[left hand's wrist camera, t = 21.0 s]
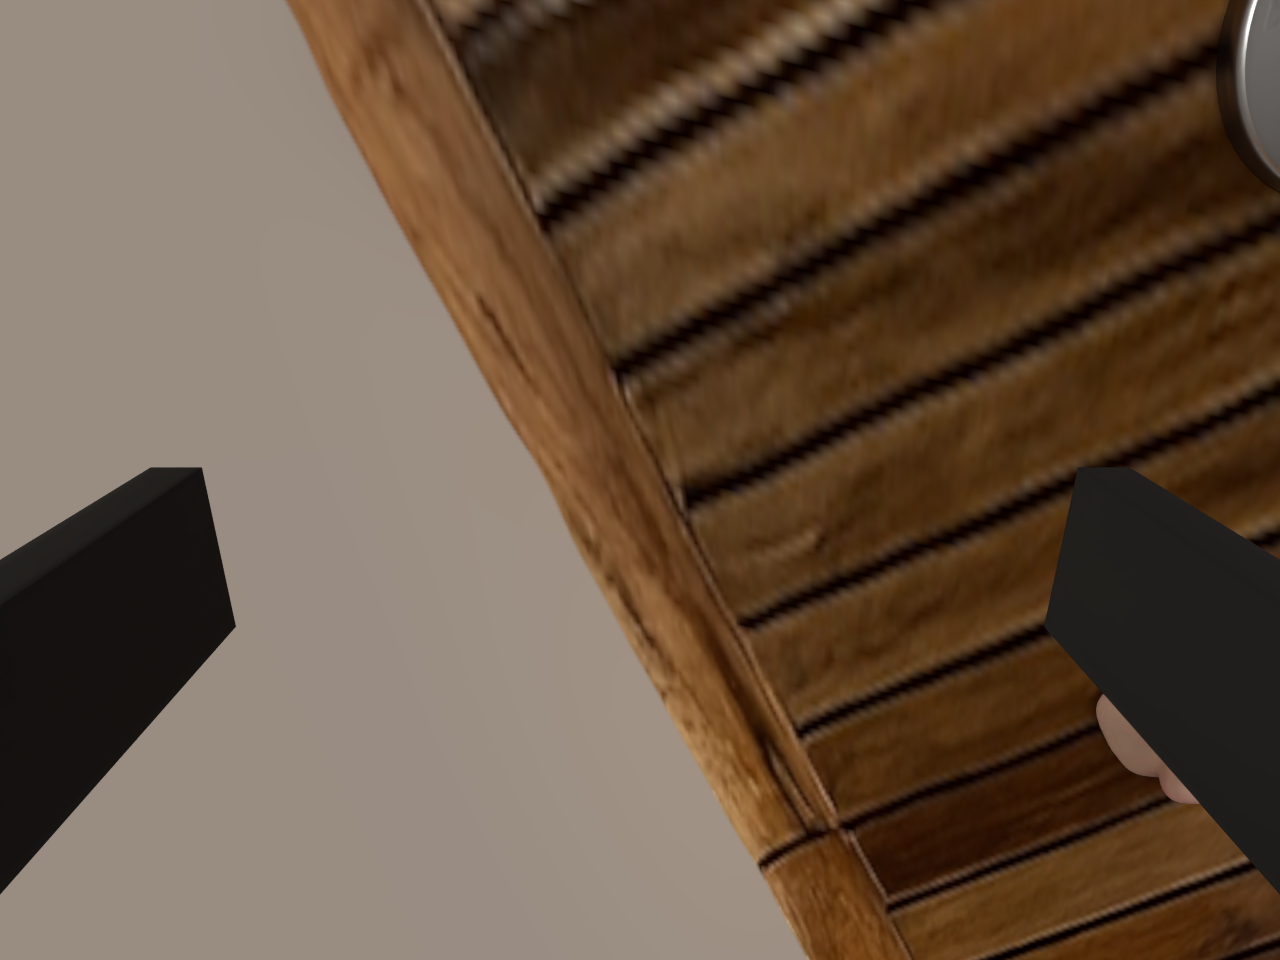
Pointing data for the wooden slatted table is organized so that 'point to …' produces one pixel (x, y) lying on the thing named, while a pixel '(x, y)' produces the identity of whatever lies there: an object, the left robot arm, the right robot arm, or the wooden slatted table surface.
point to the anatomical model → (1138, 752)
